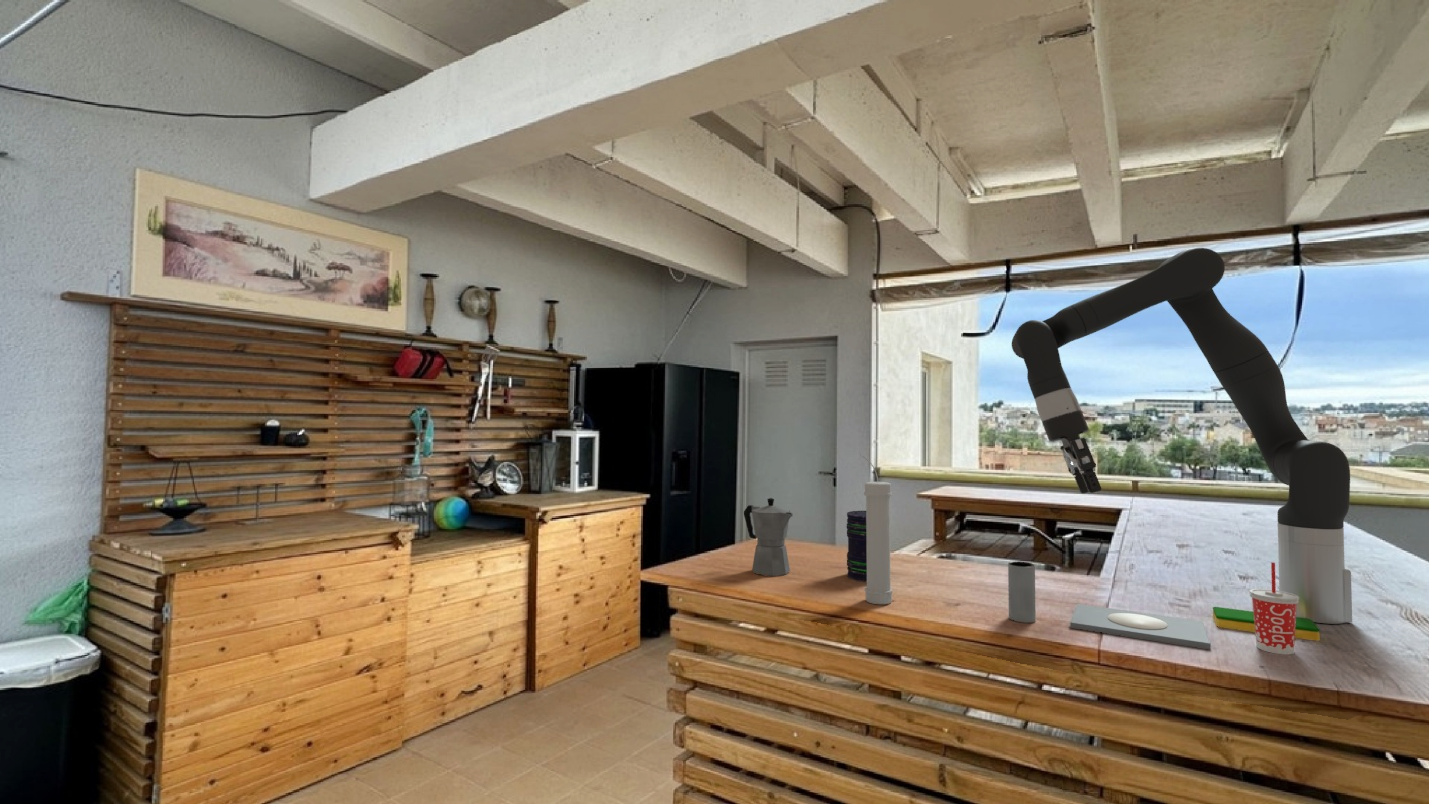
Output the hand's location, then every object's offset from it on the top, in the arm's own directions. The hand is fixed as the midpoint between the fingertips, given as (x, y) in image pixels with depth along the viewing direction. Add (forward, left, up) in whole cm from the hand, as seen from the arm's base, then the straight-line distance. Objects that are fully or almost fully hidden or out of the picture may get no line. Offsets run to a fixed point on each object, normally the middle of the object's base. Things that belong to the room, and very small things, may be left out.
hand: (1091, 492), depth 128 cm
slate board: (-4, +11, -23) cm, 25 cm away
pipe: (+41, +3, -23) cm, 48 cm away
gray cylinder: (+15, +10, -23) cm, 29 cm away
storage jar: (+42, -18, -23) cm, 52 cm away
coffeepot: (+66, -19, -23) cm, 73 cm away
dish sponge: (-26, +7, -24) cm, 35 cm away
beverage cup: (-21, +19, -23) cm, 36 cm away
